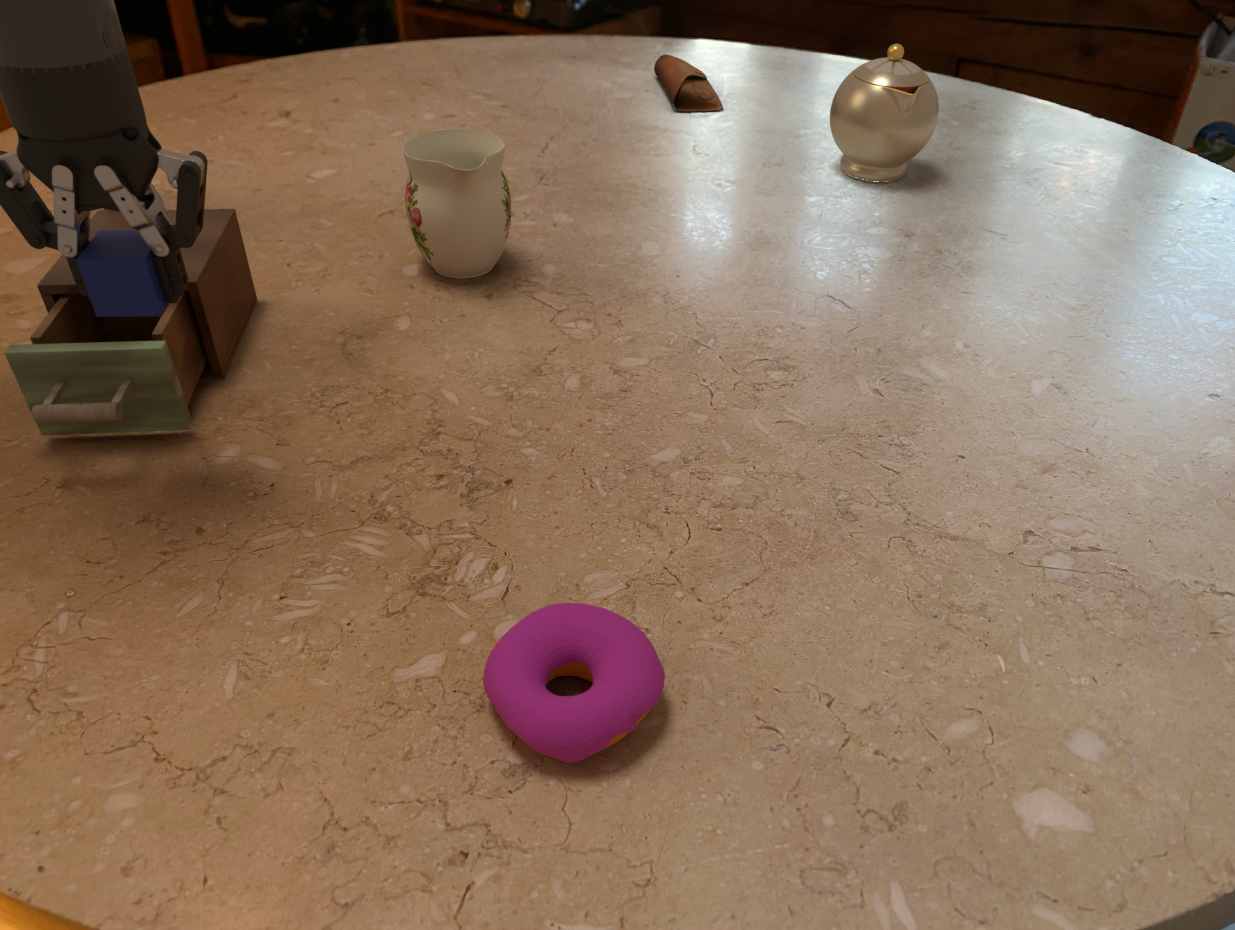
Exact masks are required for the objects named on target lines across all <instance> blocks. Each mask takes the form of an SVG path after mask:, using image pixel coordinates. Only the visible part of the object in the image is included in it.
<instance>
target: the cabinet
mask: <svg viewBox="0 0 1235 930" xmlns="http://www.w3.org/2000/svg"><path fill="white" fill-rule="evenodd" d="M164 210H165V212H166V213H167V215H168V216H169V218H170V220H171V221H172V223H173V224H176V209H164ZM98 231H138V230H136V229H133V228H132V227H131V226H130V225H129V223H128V222H127V220H126V219H125V217H124V216H123V214H122V213H121V211H105V210H97V211H96V212H95V213H94V214H93V215H92V216H91V217H90V238H89V242H90V241H91V240H92V239H93V237H94V236H95V235H96V233H97V232H98ZM180 251H181V254H182V258H183V261H184V265H185V269H186V273H187V276H188V285H187V287H186V289H185V291H188V292H189V296H190V299H191V302H192V306H193V309H194V313H195V316H196V319H197V323H198V326H199V329H200V333H201V336H202V340H203V343H204V346H205V350H206V353H207V356H208V360H207V363H206V365H205V367H204V369H203V371H202V374H201V376H200V378H199V380H198V381H200V380H224V379H225V377H226V375H227V372H228V371H229V368H230V366H231V363H232V360H233V359H234V356H235V354H236V351H237V349H238V346H239V344H240V341H241V339H242V337H243V334H244V332H245V329H246V327H247V324H248V322H249V320H250V317H251V315H252V313H253V311H254V310H253V309H255V305H256V303H257V300H258V296H257V292H256V289H255V284H254V280H253V276H252V272H251V268H250V263H249V260H248V256H247V251H246V248H245V244H244V240H243V235H242V231H241V227H240V222H239V219H238V215H237V211H236V208H204V220H203V229H202V230H201V232H200V234H199V236H198V237H197V239H196V241H195V242H194V244H193V246H192V247H190V248H183V247H182V248H180ZM36 287H37V289H38V291H39V294H40V297H41V300H42V302H43V304H44V307H45V309H46V311H47V314H48V313H49V312H50V310H51V309H52V308H53V306H54V305H55V304H56V302H57V301H58V300H59V298H60V297H61V296H62V294H81V293H80V292H79V291H78V289H77V286H76V282H75V281H74V277H73V275H72V272H71V270H70V267H69V264H68V261H67V259H66V257H65V256H64V255H62V254H61V255H60V256H59V257H58V259H57V260H56V261H55V262H54V264H53V265H52V266H51V267H50V268H49V270H48V271H47V272H46V273H45V275H44V276H43V277H42V278H41V279H40V281H39V282H38V283H37V285H36Z"/></svg>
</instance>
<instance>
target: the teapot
mask: <svg viewBox="0 0 1235 930" xmlns="http://www.w3.org/2000/svg"><path fill="white" fill-rule="evenodd" d="M886 55H887V56H886V57H885V56H884V57H879V58H875V59H871V60H869V61H866V62H864V63H862V64H860V65H859V66H857V67H856V68H854V69H853V70H851V72H850V73H849V74H848V75H847V76H846V77H845V78H844V79H843V80H842V81H841V83H840V84H839V86H838V88H837V89H836V90H835V93H834V96H833V98H832V102H831V105H830V111H829V127H830V132H831V136H832V138H833V141H834V143H835V145H836V147H837V148H838V150H839V151H840V152H841V154H842V156H841V157H840V160H839V166H840V169H841V170H842V172H843V173H844V174H846V173H847V174H846V175H847V176H848V177H850V178H853V179H855V180H858V181H861V182H867V183H874V184H875V183H876V184H877V183H878V184H884V183H887V182H886V181H889V182H888V183H891V182H895V181H898V180H901V178H903V177H904V176H905V175H906V173H907V171H908V163H907V162H909V161H910V160H912V159H913V158H914V157H916V156H917V155H918V154H920V152H921V151H922V150H924V148H925V147H926V145H927V144H928V143H929V141H930V139H931V138H932V137H933V135H934V132H935V129H936V128H937V127H936V126H937V123H938V118H939V111H940V110H939V109H940V107H939V106H940V105H939V98H938V97H939V96H938V94H937V90H936V87H935V85H934V83H933V81H932V80H931V77H929V75H928V74H927V73H926V72H925V70H923V69H922V68H921V67H919V66H918V65H917V64H915V63H914V62H912V61H910V60H907V59H904V58H903V57H904V55H905V49H904V46H903V45H902V44H900V43H894V44H891V45H890V46H889V47H888V48H887V52H886ZM848 174H849V175H851V176H849V175H848ZM852 176H853V177H852ZM854 177H857V178H859V179H857V178H854ZM861 179H864V180H861ZM865 180H868V181H865ZM873 181H879V182H873ZM884 181H885V182H884Z"/></svg>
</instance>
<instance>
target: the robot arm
mask: <svg viewBox="0 0 1235 930" xmlns="http://www.w3.org/2000/svg"><path fill="white" fill-rule="evenodd" d="M0 98H1V101H2V104H3V106H4V109H5V112H6V114H7V117H8V119H9V122H10V125H11V127H12V128H13V129H14V130H15V131H16V134H17V146H16V150H12V151H9V152H7V151H5V150H0V207H1V208H2V210H3V211H4V212H5V214H6V215H7V217H8V218H9V219H10V221H11V222H12V224H13V225H14V226H15V227H16V229H17V230H18V231H19V232H20V234H21V236H22V237H23V238H24V240H25V241H26V242H27V244H28V245H29V246H30V247H31V248H33V249H37V250H43V249H45V248H48V249H53V250H55V251H58V252H59V253H60V254H61V255H64V256H65V257H66V259H67V261H68V264H69V267H70V270H71V272H72V275H73V277H74V281H75V282H76V286H77V289H78V291H79V292H80V293H81V294H82V295H83V296H88V298H89V301H90V303H91V304H92V302H91V299H90V296H89V294H88V291H87V288H86V285H85V283H84V280H83V277H82V274H81V272H80V269H79V266H78V263H77V260H76V259H77V258H78V257H79V255H80V254H81V253H82V251H83V250H84V249H85V248H86V246H87V245H88V244H89V238H90V219H91V212H92V211H96V210H100V209H104V210H105V209H108V210H112V211H121V213H122V214H123V216H124V217H125V219H126V220H127V222H128V223H129V225H130V226H131V227H132V228H133V229H136V230H138V232H139V233H140V235H141V236H142V238H143V239H144V241H145V242H146V244H147V245H148V247H149V249H150V250H151V252H152V253H153V254H154V255H153V256H152V260H153V264H154V267H155V270H156V274H157V277H158V280H159V283H160V287H161V290H162V293H163V297H164V300H165V302H166V303H177V302H178V300H179V298H180V296H181V295H182V294H183V293H184V291H185V289H186V287H187V285H188V276H187V273H186V269H185V265H184V261H183V258H182V254H181V251H180V248H182V247H183V248H190V247H192V246H193V244H194V242H195V241H196V239H197V237H198V236H199V234H200V232H201V230H202V229H203V220H204V209H205V203H206V191H207V176H208V164H209V163H208V161H209V160H208V158H207V156H206V155H205V153H203V152H201V151H199V150H193V151H190V153H189V154H188V155H186V154H184V153H181V152H180V153H179V152H175V151H172V150H169V149H165V148H163V147H162V144H160V141H159V140H158V139H157V138H156V137H155V136H154V134H153V133H152V132H151V130H150V128H149V125H148V121H147V116H146V111H145V108H144V104H143V101H142V97H141V93H140V89H139V85H138V83H137V79H136V74H135V72H134V68H133V64H132V61H131V57H130V53H129V50H128V46H127V43H126V40H125V36H124V32H123V29H122V24H121V22H120V17H119V14H118V10H117V6H116V3H115V1H114V0H0ZM158 169H161V170H162V171H163V172H164V173H165V175H166V177H167V181H168V184H169V185H170V186H171V188H173V189H176V206H175V207H176V208H175V210H176V224H173V223H172V221H171V220H170V218H169V216H168V215H167V213H166V212H165V210H166V209H165V203H164V201H163V199H162V197H161V196H160V194H159V192H158V191H157V189H156V188H155V186H154V184H153V182H152V181H153V179H154V177H155V175H156V173H157V171H158ZM31 174H32V175H33V176H34V177H35V178H37V179H38V180H39V181H40V182H41V183H42V184H43V185H45V187H47V189H49V190H50V191H51V192H53V213H52V212H51V210H50V209H49V207H48V206H47V205H46V203H45V201H44V200H43V199H42V197H41V196H40V194H39V193H38V192H37V190H36V189H35V187H34V186H33V184H32V182H31V181H30V180H31Z"/></svg>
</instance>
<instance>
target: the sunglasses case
mask: <svg viewBox="0 0 1235 930" xmlns="http://www.w3.org/2000/svg"><path fill="white" fill-rule="evenodd" d="M653 71H654V74H655V76H656V77H657V78H658V80H659V81H660V83H661V85H662V87H663V88H664V90H665V93H666V94H667V96H668V99H669V101H670V103H671V104H672V105H673V106H674V107H675V109H676V110H677V111H678V112H680V113H706V112H716V111H720V110H723V109H724V105H723V103H722V101H721V99H720V97H719V96H718V93H717V92H716V91H715V89H714V88H713V85H712V84H711V83H710V81H709V80H708V77H707V75H706V74H705V73H704V72H703V71H702V70H700V69H699V68H697V67H696V66H694V65H692V64H690V63H689V62H688V61H686V60H684V59H681V58H680V57H676V56H674V55H672V54H662V55H660V56H659V57H658V58H657V59H656V61H655V63H654V66H653Z"/></svg>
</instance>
